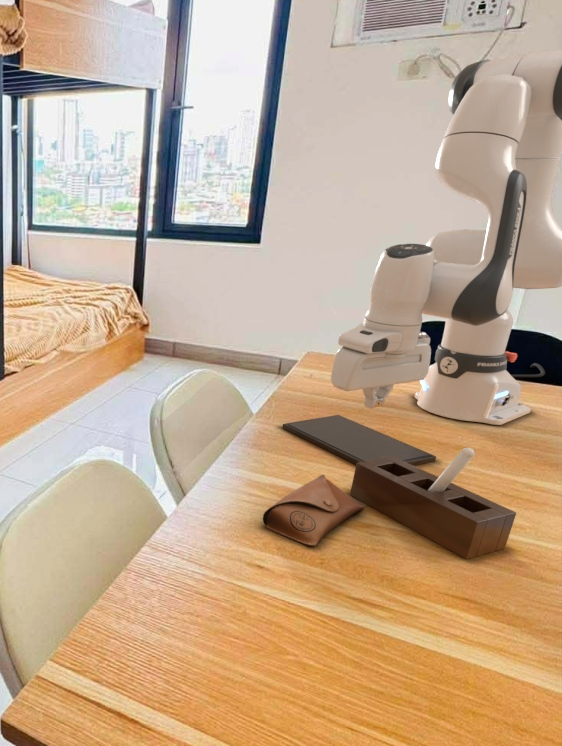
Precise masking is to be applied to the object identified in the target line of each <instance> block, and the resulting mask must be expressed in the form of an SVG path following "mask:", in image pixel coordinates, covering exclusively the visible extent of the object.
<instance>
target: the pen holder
mask: <svg viewBox="0 0 562 746" xmlns="http://www.w3.org/2000/svg"><path fill="white" fill-rule="evenodd" d="M438 477H439V476H438V475H435V474H433V473H431V472H429V471H427V470H424V469H422V468H419V467H417V466H416V465H414V466H413V465H411V464H409V463H406V462H404V461H402V460H400V459H398V458H395V457H393V456H390V457H384V458H379V459H374V460H369V461H364V462H359V463H357V464H356V465H355V468H354V473H353V479H352V481H351V482H352V483H351V486H350V492H349V496H350V497H352V498H354V499H356V500H358V501H360V502H361V503H364V504H366V505H368V506H369V507H371V508H373V509H375V510H376V511H378V512H380V513H382V514H384V515H385V516H387V517H389V518H391V519H393V520H394V521H397V522H399V523H400V524H402V525H404V526H405V527H407V528H409V529H411V530H412V531H414V532H416V533H418V534H420V535H422V536H423V537H425V538H427V539H429V540H431V541H432V542H434V543H436V544H438V545H439V546H442V547H443V548H445V549H446V550H449V551H450V552H452V553H454V554H456V555H457V556H460V557H462V558H463V559H465V560H468V559H472V558H475V557H479V556H482V555H483V556H484V555H486V554H489V553H494V552H497V551H501V550H504V549H506V547H507V544H508V540H509V537H510V534H511V531H512V528H513V525H514V522H515V519H516V516H517V511H514V510H512V509H510V508H508V507H505V506H503V505H501V504H499V503H496V502H495V501H492V500H491V499H488V498H485V497H483V496H481V495H479V494H478V493H474V492H472V491H471V490H469V489H466V488H463V487H462V486H459V485H457V484H455V483H453V482H451V483H450V484H449V485H448V487H447V488H446V489H445V490H444V491H443V492H439V493H435V494H433V493H431V492H429V491H428V489H429V488H430V487H431V486H432V485H433V483H434V482H435V481H436V480H437V479H438Z"/></svg>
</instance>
